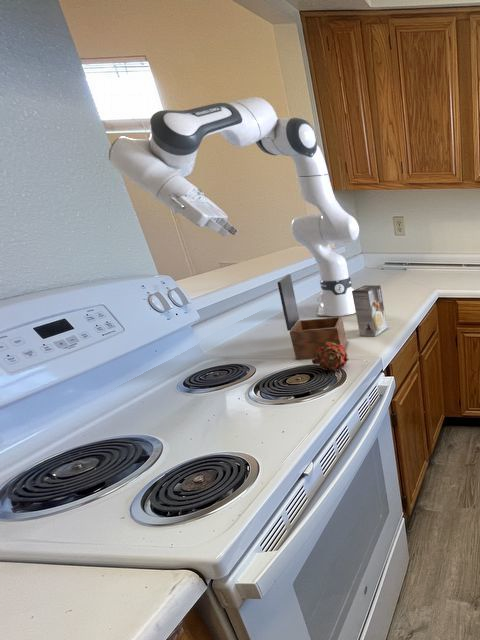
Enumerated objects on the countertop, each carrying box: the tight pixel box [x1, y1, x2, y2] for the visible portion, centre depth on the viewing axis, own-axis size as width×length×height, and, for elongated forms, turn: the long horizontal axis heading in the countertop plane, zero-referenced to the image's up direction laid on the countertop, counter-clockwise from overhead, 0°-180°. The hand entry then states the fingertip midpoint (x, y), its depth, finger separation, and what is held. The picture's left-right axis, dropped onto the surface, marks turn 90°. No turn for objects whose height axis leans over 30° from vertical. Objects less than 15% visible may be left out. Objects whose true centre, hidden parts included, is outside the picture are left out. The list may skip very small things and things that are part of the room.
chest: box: [289, 316, 348, 360], centre depth 133 cm, size 14×13×9 cm
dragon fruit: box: [311, 342, 350, 372], centre depth 118 cm, size 8×8×12 cm
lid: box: [277, 273, 300, 332], centre depth 126 cm, size 14×13×1 cm
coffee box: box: [352, 284, 388, 337], centre depth 147 cm, size 9×6×16 cm
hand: (231, 233), depth 116 cm, fingers open, 8 cm apart
